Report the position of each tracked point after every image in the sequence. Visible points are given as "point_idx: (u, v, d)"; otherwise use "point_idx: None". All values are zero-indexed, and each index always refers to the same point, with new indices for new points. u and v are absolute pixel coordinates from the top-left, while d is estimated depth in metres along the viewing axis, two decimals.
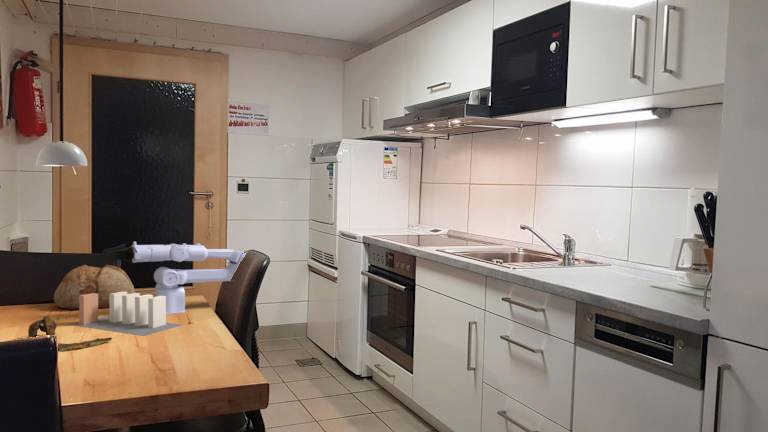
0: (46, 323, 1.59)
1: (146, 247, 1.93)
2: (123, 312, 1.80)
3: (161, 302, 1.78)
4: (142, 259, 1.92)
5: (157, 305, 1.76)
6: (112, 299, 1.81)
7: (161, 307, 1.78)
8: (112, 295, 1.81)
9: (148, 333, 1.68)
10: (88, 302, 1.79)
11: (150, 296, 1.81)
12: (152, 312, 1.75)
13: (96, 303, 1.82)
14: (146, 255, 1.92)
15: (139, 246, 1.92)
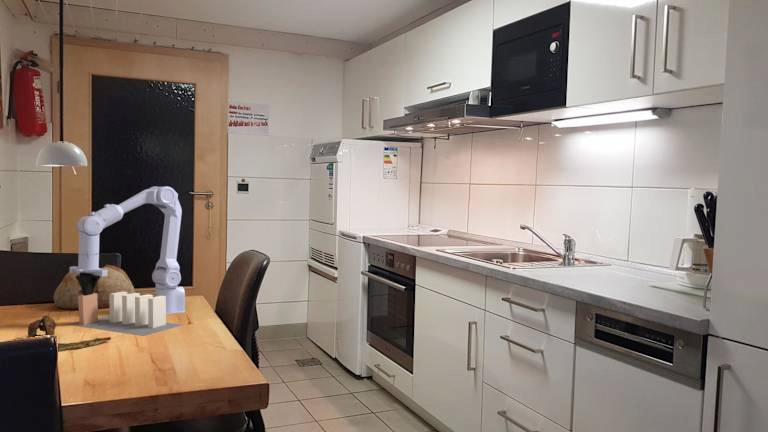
0: (45, 322, 1.59)
1: (86, 259, 1.77)
2: (123, 312, 1.80)
3: (161, 302, 1.78)
4: (98, 262, 1.81)
5: (157, 305, 1.76)
6: (112, 299, 1.81)
7: (161, 307, 1.78)
8: (112, 295, 1.81)
9: (148, 333, 1.68)
10: (87, 302, 1.79)
11: (150, 296, 1.81)
12: (152, 312, 1.75)
13: (95, 303, 1.81)
14: (96, 259, 1.79)
15: (84, 266, 1.77)
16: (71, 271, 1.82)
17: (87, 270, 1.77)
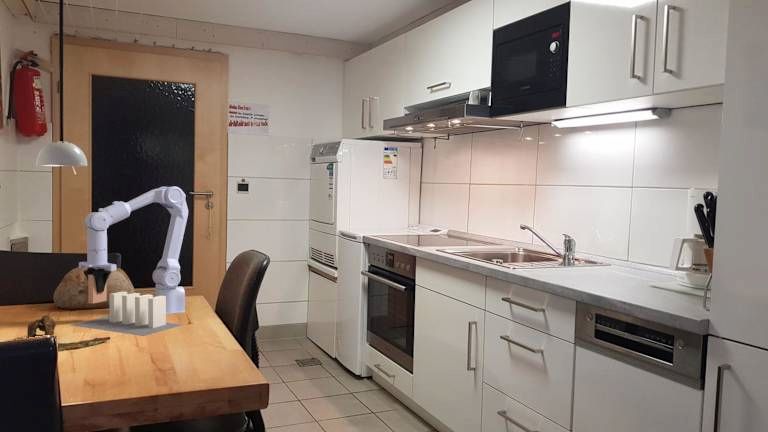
0: (45, 322, 1.59)
1: (95, 254, 1.80)
2: (123, 312, 1.80)
3: (161, 302, 1.78)
4: (106, 257, 1.83)
5: (157, 305, 1.76)
6: (112, 299, 1.81)
7: (161, 307, 1.78)
8: (112, 295, 1.81)
9: (148, 333, 1.68)
10: None
11: (150, 296, 1.81)
12: (152, 312, 1.75)
13: None
14: (104, 254, 1.82)
15: (93, 261, 1.80)
16: (80, 267, 1.84)
17: (96, 265, 1.80)
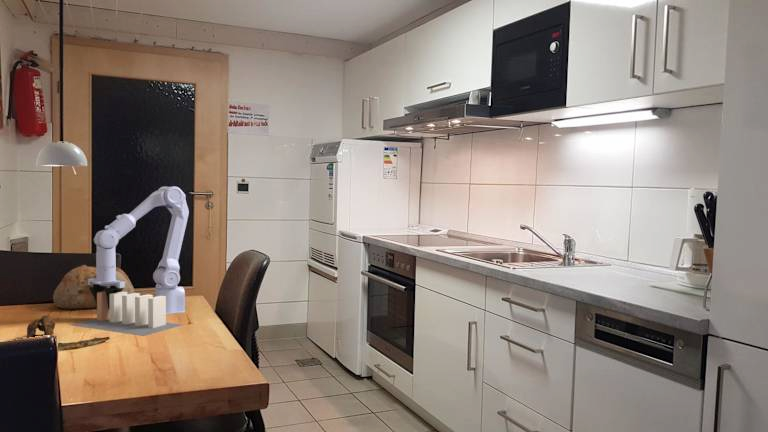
0: (44, 322, 1.59)
1: (104, 272, 1.83)
2: (123, 312, 1.80)
3: (161, 302, 1.78)
4: (115, 274, 1.87)
5: (157, 305, 1.76)
6: (112, 299, 1.81)
7: (161, 307, 1.78)
8: (112, 295, 1.81)
9: (148, 333, 1.68)
10: (105, 299, 1.85)
11: (150, 296, 1.81)
12: (152, 312, 1.75)
13: None
14: (113, 271, 1.85)
15: (102, 278, 1.83)
16: (89, 283, 1.88)
17: (105, 282, 1.83)
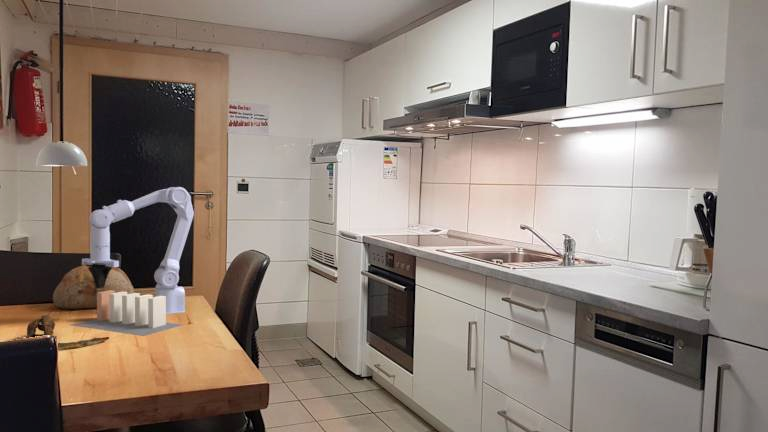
0: (44, 322, 1.60)
1: (98, 251, 1.84)
2: (123, 312, 1.80)
3: (161, 302, 1.78)
4: (109, 254, 1.87)
5: (157, 305, 1.76)
6: (112, 299, 1.81)
7: (161, 307, 1.78)
8: (112, 295, 1.81)
9: (148, 333, 1.68)
10: (105, 299, 1.85)
11: (150, 296, 1.81)
12: (152, 312, 1.75)
13: None
14: (107, 251, 1.86)
15: (96, 257, 1.84)
16: (83, 263, 1.88)
17: (99, 261, 1.84)
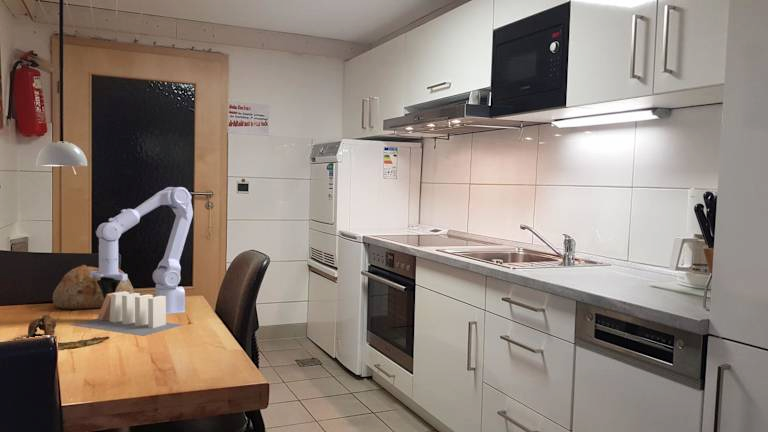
0: (45, 322, 1.60)
1: (107, 264, 1.83)
2: (123, 312, 1.80)
3: (161, 302, 1.78)
4: None
5: (157, 305, 1.76)
6: (113, 299, 1.81)
7: (161, 307, 1.78)
8: (114, 295, 1.81)
9: (148, 333, 1.68)
10: None
11: (150, 296, 1.81)
12: (152, 312, 1.75)
13: None
14: (116, 264, 1.85)
15: (105, 271, 1.83)
16: (92, 276, 1.87)
17: (108, 275, 1.82)
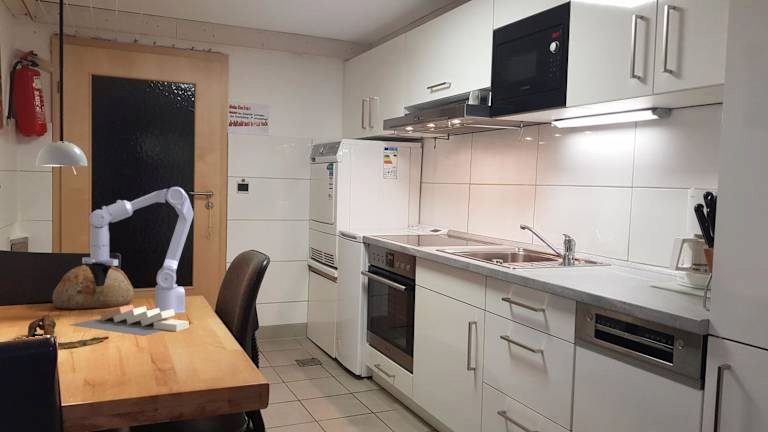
0: (45, 322, 1.60)
1: (98, 250, 1.88)
2: (134, 316, 1.78)
3: None
4: None
5: None
6: (130, 314, 1.78)
7: None
8: (132, 313, 1.78)
9: (148, 333, 1.68)
10: None
11: (172, 315, 1.77)
12: (165, 328, 1.73)
13: None
14: (107, 250, 1.90)
15: (96, 256, 1.88)
16: (83, 262, 1.93)
17: (99, 260, 1.88)
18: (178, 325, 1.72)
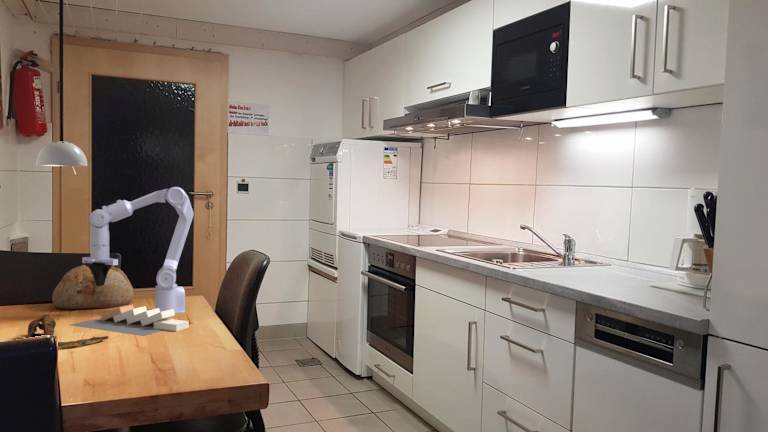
0: (44, 321, 1.61)
1: (98, 250, 1.89)
2: (134, 316, 1.78)
3: None
4: None
5: None
6: (130, 314, 1.78)
7: None
8: (132, 313, 1.78)
9: (148, 333, 1.68)
10: None
11: (172, 315, 1.77)
12: (165, 328, 1.73)
13: None
14: (107, 250, 1.91)
15: (96, 256, 1.89)
16: (84, 261, 1.93)
17: (99, 260, 1.88)
18: (178, 325, 1.72)
